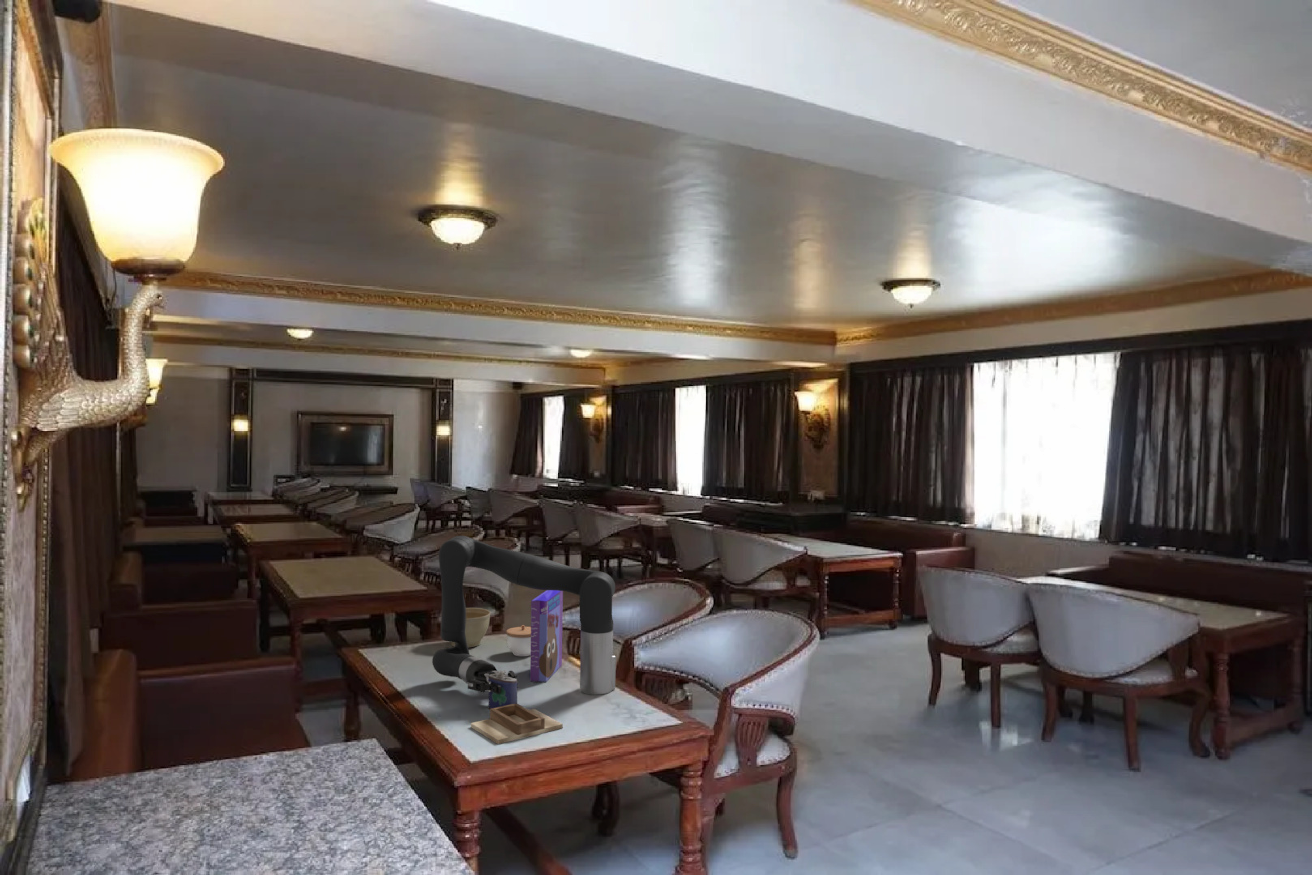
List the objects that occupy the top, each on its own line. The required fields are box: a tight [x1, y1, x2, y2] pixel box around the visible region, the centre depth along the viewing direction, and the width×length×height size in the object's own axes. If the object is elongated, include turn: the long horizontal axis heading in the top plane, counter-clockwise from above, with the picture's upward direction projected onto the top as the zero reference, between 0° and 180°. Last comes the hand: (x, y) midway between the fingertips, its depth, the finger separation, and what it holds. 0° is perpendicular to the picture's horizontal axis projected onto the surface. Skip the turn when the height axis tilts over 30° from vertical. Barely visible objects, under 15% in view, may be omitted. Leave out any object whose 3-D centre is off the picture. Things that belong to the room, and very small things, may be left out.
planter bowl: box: [450, 607, 491, 649], centre depth 291 cm, size 16×16×11 cm
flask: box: [488, 670, 518, 710], centre depth 225 cm, size 9×3×11 cm, turn 59°
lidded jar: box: [506, 624, 531, 657], centre depth 281 cm, size 11×11×9 cm
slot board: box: [470, 702, 563, 745], centre depth 213 cm, size 18×14×4 cm
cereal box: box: [529, 590, 564, 683], centre depth 259 cm, size 17×5×24 cm, turn 171°
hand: (508, 688), depth 223 cm, fingers closed on flask, 4 cm apart
